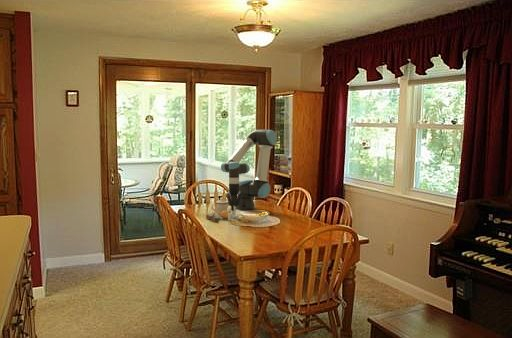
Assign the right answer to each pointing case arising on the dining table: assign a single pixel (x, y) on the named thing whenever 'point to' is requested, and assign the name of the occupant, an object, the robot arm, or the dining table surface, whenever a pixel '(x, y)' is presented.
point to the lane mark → (231, 217)
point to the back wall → (212, 218)
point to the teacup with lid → (220, 206)
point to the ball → (224, 214)
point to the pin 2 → (229, 214)
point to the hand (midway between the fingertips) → (233, 214)
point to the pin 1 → (215, 215)
